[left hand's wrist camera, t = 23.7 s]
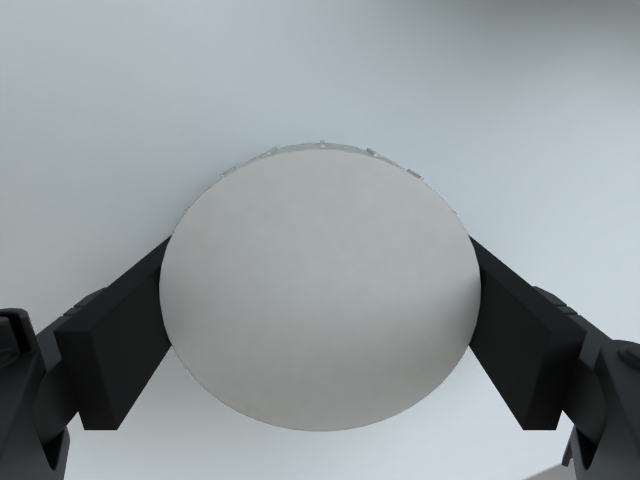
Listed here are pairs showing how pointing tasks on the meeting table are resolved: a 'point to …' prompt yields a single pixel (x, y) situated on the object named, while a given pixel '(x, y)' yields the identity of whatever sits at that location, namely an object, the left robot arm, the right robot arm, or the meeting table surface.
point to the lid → (320, 288)
